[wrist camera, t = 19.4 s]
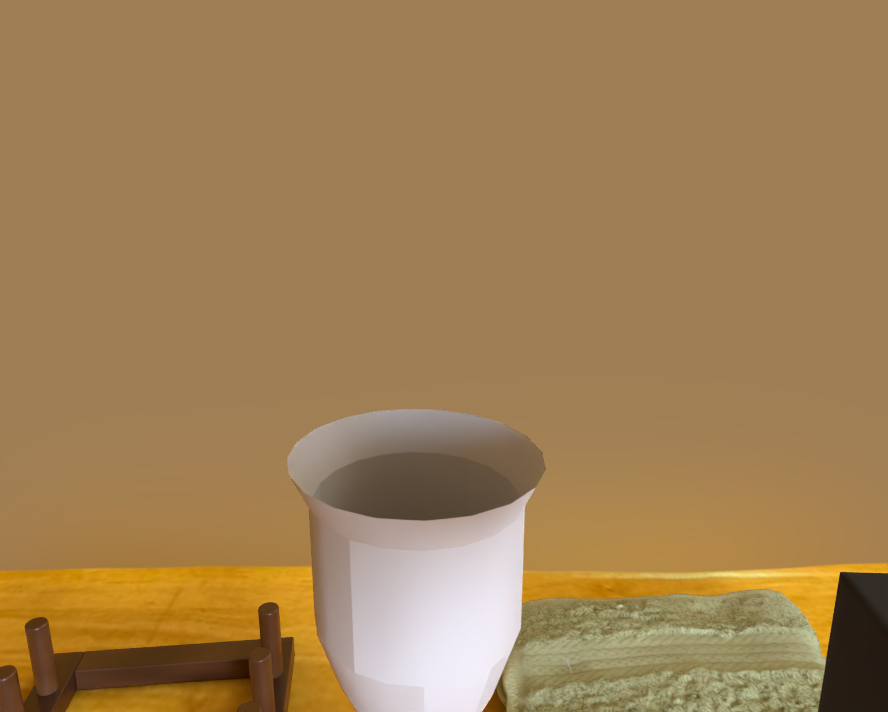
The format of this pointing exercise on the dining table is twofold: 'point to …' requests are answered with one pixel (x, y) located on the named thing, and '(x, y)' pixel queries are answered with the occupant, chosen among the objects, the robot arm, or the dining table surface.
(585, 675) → the washcloth
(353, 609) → the chalice
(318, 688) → the dining table surface
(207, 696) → the dining table surface
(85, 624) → the dining table surface
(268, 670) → the drying rack
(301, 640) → the dining table surface
